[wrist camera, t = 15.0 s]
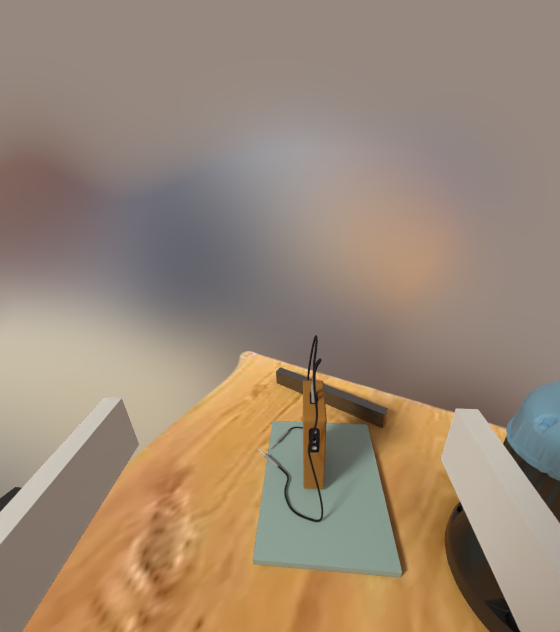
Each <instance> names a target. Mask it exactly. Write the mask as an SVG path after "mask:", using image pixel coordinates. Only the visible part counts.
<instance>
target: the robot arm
mask: <svg viewBox="0 0 560 632" xmlns="http://www.w3.org/2000/svg"><path fill="white" fill-rule="evenodd" d="M506 431H507V436H506V439H505V441H504V443H502V442H501V441H500V439H499V438H498V437H497V435H496V434H495V432H494V431H493V430H492V428H491V427H490V425H489V424H488V423H487V421H486V420H485V418H484V417H483V416H482V414H481V413H480V411H479V410H478V409H456V410H455V413H454V417H453V420H452V423H451V427H450V430H449V433H448V436H447V440H446V443H445V446H444V450H443V453H442V456H441V461H442V463H443V465H444V467H445V470H446V472H447V474H448V476H449V478H450V480H451V483H452V485H453V487H454V489H455V491H456V493H457V496H458V498H459V500H460V502H459V503H458V504H457V506H456V507H455V508H454V510H453V512H452V514H451V516H450V519H449V521H448V524H447V527H446V532H445V548H446V554H447V559H448V563H449V566H450V569H451V571H452V574H453V576H454V579H455V581H456V583H457V585H458V587H459V589H460V591H461V593H462V594H463V596H464V598H465V599H466V601H467V602H468V604H469V606H470V607H471V608H472V610H473V611H474V613H475V614H476V615H477V617H478V618H479V619H480V620H481V622H482V623H483V624H484V625H485V626H486V628H487V629H488V630H489V631H490V632H560V381H555V382H551V383H547V384H545V385H542V386H540V387H538V388H536V389H534V390H533V391H532V392H530V393H529V394H528V395H527V397H526V398H525V399H524V401H523V403H522V405H521V407H520V408H519V410H518V412H517V414H516V415H515V416H514V417H513V418H512V419H511V420H510V422H509V423H508V426H507V429H506ZM138 445H139V443H138V441H137V438H136V435H135V433H134V430H133V427H132V424H131V422H130V419H129V416H128V414H127V411H126V408H125V406H124V403H123V400H122V398H104V399H103V400H102V401H101V402H100V403H99V404H98V405H97V406H96V407H95V408H94V410H93V411H92V412H91V413H90V414H89V415H88V416H87V417H86V418H85V420H84V421H83V422H82V423H81V424H80V425H79V426H78V427H77V428H76V429H75V431H74V432H73V433H72V434H71V435H70V436H69V437H68V438H67V439H66V440H65V442H64V443H63V444H62V445H61V446H60V447H59V448H58V449H57V450H56V451H55V452H54V454H53V455H52V456H51V457H50V458H49V459H48V460H47V461H46V462H45V463H44V465H43V466H42V467H41V468H40V469H39V470H38V471H37V472H36V473H35V475H34V476H33V477H32V478H31V479H30V480H29V481H28V482H27V483H26V484H25V485H24V487H23V488H19V487H15V488H14V489H12V490H11V491H10V492H8V493H7V494H6V495H4V496H3V497H2V498H0V632H22V631H23V629H24V628H25V626H26V625H27V623H28V621H29V620H30V618H31V617H32V615H33V613H34V612H35V610H36V609H37V607H38V605H39V604H40V602H41V601H42V599H43V597H44V596H45V594H46V593H47V591H48V589H49V588H50V586H51V585H52V583H53V581H54V580H55V578H56V577H57V575H58V573H59V572H60V570H61V569H62V567H63V565H64V564H65V562H66V561H67V559H68V557H69V556H70V554H71V553H72V551H73V549H74V548H75V546H76V544H77V543H78V541H79V540H80V538H81V536H82V535H83V533H84V532H85V530H86V528H87V527H88V525H89V524H90V522H91V520H92V519H93V517H94V516H95V514H96V512H97V511H98V509H99V508H100V506H101V504H102V503H103V501H104V500H105V498H106V496H107V495H108V493H109V492H110V490H111V488H112V487H113V485H114V484H115V482H116V480H117V479H118V477H119V476H120V474H121V472H122V471H123V469H124V468H125V466H126V464H127V463H128V461H129V460H130V458H131V456H132V455H133V453H134V452H135V450H136V448H137V447H138Z"/></svg>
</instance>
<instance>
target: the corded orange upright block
mask: <svg viewBox="0 0 560 632" xmlns="http://www.w3.org/2000/svg"><path fill="white" fill-rule="evenodd" d="M315 340H316V343H315ZM317 342H318V341H317V335H316V336H315V337H314V340H313V344H312V349H311V354H310V361H309V368H308V376H307V380H304V381H303V427H292V428H290V429H289V430H287V431H286V432H285V433H283V434H282V435H281V436H280V437H279V438H278V439H277V440H276V442H275V443H274V444H273V445H272V446H271V447H270V449H271V448H272V447H273V446H274V445H275V444H276V443H279V442H280V441H281V440H282V439H283V438H284V437H285V436H286V435H287V434H288V432H289V431H290V430H291V429H293V428H301V429H303V487H304V488H305V489H317V490H318V494H319V498H320V504H321V518H320V519H318V520H315V519H311V518H308V517H305V516H303V515H301V514H299V513H297V512H296V511H295V510H293V508H292V507H291V506H290V504H289V502H288V499H287V496H286V488H287V484H288V481H289V476H288V474H287V473H286V472H285V471H284V470H283V469H282V468H281V467H280V466H279V465H278V464H277V463H276V462H275V461H274V460H273V459H272V458H271V457H269V456H268V455H267V454H264V453H263V452H262V451H261V450H260V449H259V448H257V449H258V450H259V451H260V452H261V453H262V454H264V455H265V456H264V457H265V458H266V459H268V460H269V461H270V462H271V463H272V464H273V465H274V466H276V467H277V468H279V469H280V470H281V471H282V472H283V473H285V475H286V476H287V482H286V485H285V489H284V495H285V499H286V502H287V504H288V506H289V508H290V509H291V511H292V512H293V513H295V514H296V515H298V516H299V517H302V518H304V519H307V520H309V521H313V522H320V521H321V520H322V518H323V502H322V497H321V493H320V489H322V490H323V489H324V472H325V447H326V423H327V421H326V408H325V397H324V385H323V381H315V379H316V376H315V374H316V370H317V367H318V365H319V364H320V362H321V359H318V360H317V362H316V363H315V359H316V353H317ZM314 344H315V352H314V360H313V376H312V379H313V380H312V381H309V373H310V365H311V358H312V353H313V348H314Z"/></svg>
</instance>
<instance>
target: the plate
mask: <svg viewBox="0 0 560 632" xmlns="http://www.w3.org/2000/svg"><path fill="white" fill-rule="evenodd" d="M292 427H303V422H288V421H273V423H272V430H271V437H270V444H269V451H268V456H269V457H271V458H272V459H273V460H274V461H275V462H276V463H277V464H278V465H279V466H280V467H281V468H282V469H283V470H284V471H285V472H286V473H287V474H288V476H289V481H288V484H287V488H286V496H287V499H288V502H289V504H290V506H291V507H292V508H293V510H295V511H296V512H297V513H299V514H301V515H303V516H305V517H308V518H311V519H315V520H318V519H320V518H321V504H320V498H319V494H318V490H317V489H305V488H304V487H303V429H301V428H293V429H291V430H290V431H289V432H288V434H287V435H286V436H285V437H284V438H283V439H282V440H281V441H280V442H279V443H276V444H275V445H274V446H273V447H272V448H271V449H270V447H271V446H272V445H273V444H274V443H275V442H276V440H277V439H278V438H279V437H280V436H281V435H282V434H283V433H285V432H286V431H287V430H289V429H290V428H292ZM286 482H287V476H286V475H285V473H283V472H282V471H281V470H280V469H279V468H277V467H276V466H274V465H273V464H272V463H271V462H270V461H269V460H268V459H267V464H266V471H265V478H264V485H263V492H262V499H261V506H260V513H259V520H258V527H257V534H256V541H255V548H254V555H253V564H255V565H266V566H278V567H289V568H301V569H312V570H323V571H335V572H346V573H357V574H369V575H380V576H391V577H401V575H402V570H401V566H400V561H399V557H398V553H397V549H396V544H395V540H394V536H393V531H392V527H391V523H390V519H389V514H388V510H387V506H386V502H385V497H384V493H383V489H382V484H381V480H380V476H379V472H378V467H377V463H376V459H375V455H374V450H373V446H372V442H371V437H370V433H369V429H368V425H367V424H341V423H326V447H325V472H324V489H323V490H322V489H320V493H321V497H322V502H323V518H322V520H321V521H320V522H313V521H309V520H307V519H304V518H302V517H299V516H298V515H296V514H295V513H293V512H292V511H291V509H290V508H289V506H288V504H287V502H286V499H285V495H284V489H285V485H286Z"/></svg>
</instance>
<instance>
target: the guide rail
mask: <svg viewBox="0 0 560 632" xmlns="http://www.w3.org/2000/svg"><path fill="white" fill-rule="evenodd" d="M276 377H277V383H278V384H280V385H283V386H285V387H287V388H290V389H292V390H295V391H297V392H299V393H302V394H303V381H304V380H307V377H304V376H302V375H299V374H296V373H294V372H291V371H289V370H286V369H283V368H279V369H278V370H277V371H276ZM309 381H312V379H309ZM323 385H324V397H325V404H328V405H330V406H332V407H335V408H337V409H339V410H342V411H344V412H347V413H349V414H351V415H354V416H356V417H358V418H361V419H363V420H365V421H368V422H370V423H373V424H375V425H377V426H380V427H382V428H383V426H384V424H385V421H386V415H387V408H385V407H382V406H380V405H377V404H374V403H372V402H369V401H367V400H364V399H361V398H359V397H356V396H354V395H351V394H348V393H346V392H343V391H341V390H338V389H335V388H333V387H330V386H328V385H325V384H323Z"/></svg>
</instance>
